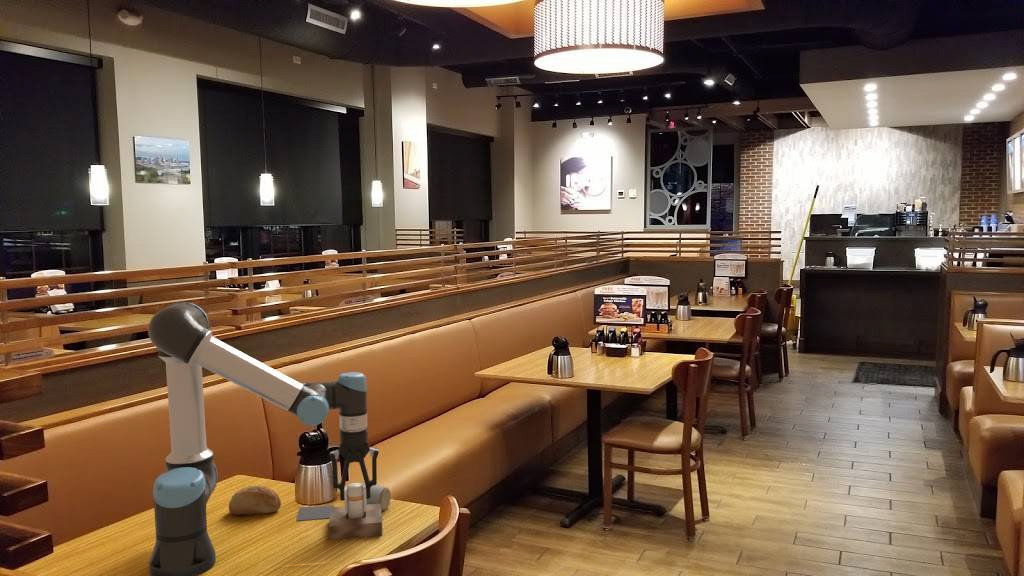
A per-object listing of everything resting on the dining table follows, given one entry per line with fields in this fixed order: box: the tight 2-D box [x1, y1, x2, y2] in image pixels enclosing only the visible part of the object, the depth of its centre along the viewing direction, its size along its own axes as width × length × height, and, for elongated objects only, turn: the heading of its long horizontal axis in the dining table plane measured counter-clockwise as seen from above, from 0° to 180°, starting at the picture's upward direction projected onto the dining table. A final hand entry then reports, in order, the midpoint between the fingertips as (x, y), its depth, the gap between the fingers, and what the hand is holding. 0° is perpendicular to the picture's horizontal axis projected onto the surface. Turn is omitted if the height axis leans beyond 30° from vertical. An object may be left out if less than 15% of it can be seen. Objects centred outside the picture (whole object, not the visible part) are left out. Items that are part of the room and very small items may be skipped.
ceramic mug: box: [362, 482, 392, 512], centre depth 222 cm, size 11×8×8 cm
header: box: [328, 504, 384, 541], centre depth 206 cm, size 14×14×4 cm
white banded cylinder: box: [346, 482, 364, 519], centre depth 206 cm, size 4×4×12 cm
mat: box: [295, 504, 335, 522], centre depth 217 cm, size 10×10×1 cm
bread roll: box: [228, 485, 282, 516], centre depth 218 cm, size 10×15×8 cm, turn 96°
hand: (355, 510), depth 206 cm, fingers closed on white banded cylinder, 4 cm apart
